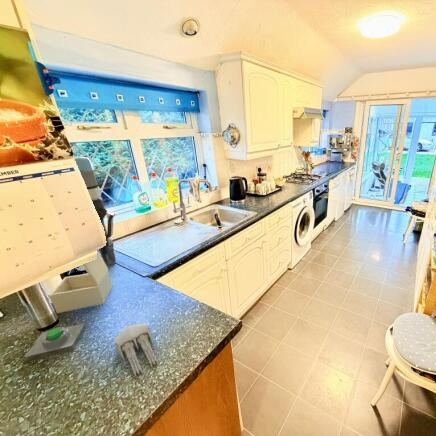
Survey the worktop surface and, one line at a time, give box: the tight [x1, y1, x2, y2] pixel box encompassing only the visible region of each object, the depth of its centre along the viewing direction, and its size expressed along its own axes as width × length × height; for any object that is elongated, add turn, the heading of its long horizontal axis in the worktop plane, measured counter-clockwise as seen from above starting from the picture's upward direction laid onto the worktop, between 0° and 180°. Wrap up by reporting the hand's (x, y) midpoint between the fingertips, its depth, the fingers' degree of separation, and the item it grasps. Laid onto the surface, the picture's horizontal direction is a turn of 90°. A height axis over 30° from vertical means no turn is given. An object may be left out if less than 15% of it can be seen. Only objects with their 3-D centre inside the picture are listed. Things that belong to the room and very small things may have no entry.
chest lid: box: [83, 250, 109, 286], centre depth 98 cm, size 16×13×5 cm
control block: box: [23, 323, 87, 363], centre depth 80 cm, size 12×10×4 cm
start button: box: [46, 327, 62, 340], centre depth 79 cm, size 4×4×2 cm
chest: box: [49, 270, 114, 314], centre depth 100 cm, size 16×13×9 cm
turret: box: [113, 322, 159, 378], centre depth 78 cm, size 10×20×5 cm, turn 45°
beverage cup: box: [98, 237, 117, 267], centre depth 124 cm, size 7×7×20 cm
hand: (106, 252), depth 98 cm, fingers closed
